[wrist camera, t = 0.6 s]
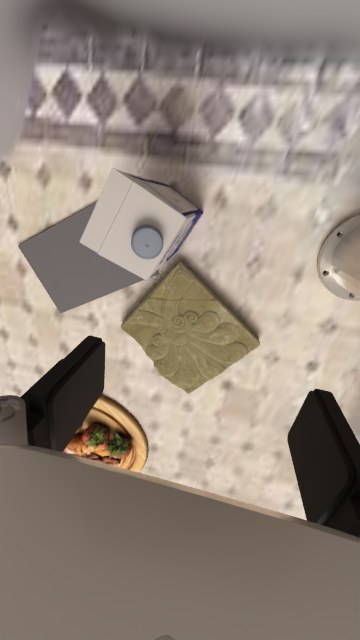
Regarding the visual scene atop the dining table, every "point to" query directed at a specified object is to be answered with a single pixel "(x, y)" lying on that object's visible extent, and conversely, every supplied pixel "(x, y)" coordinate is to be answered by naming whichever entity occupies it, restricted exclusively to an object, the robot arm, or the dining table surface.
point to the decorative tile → (188, 330)
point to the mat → (73, 264)
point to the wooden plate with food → (110, 437)
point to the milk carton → (139, 223)
